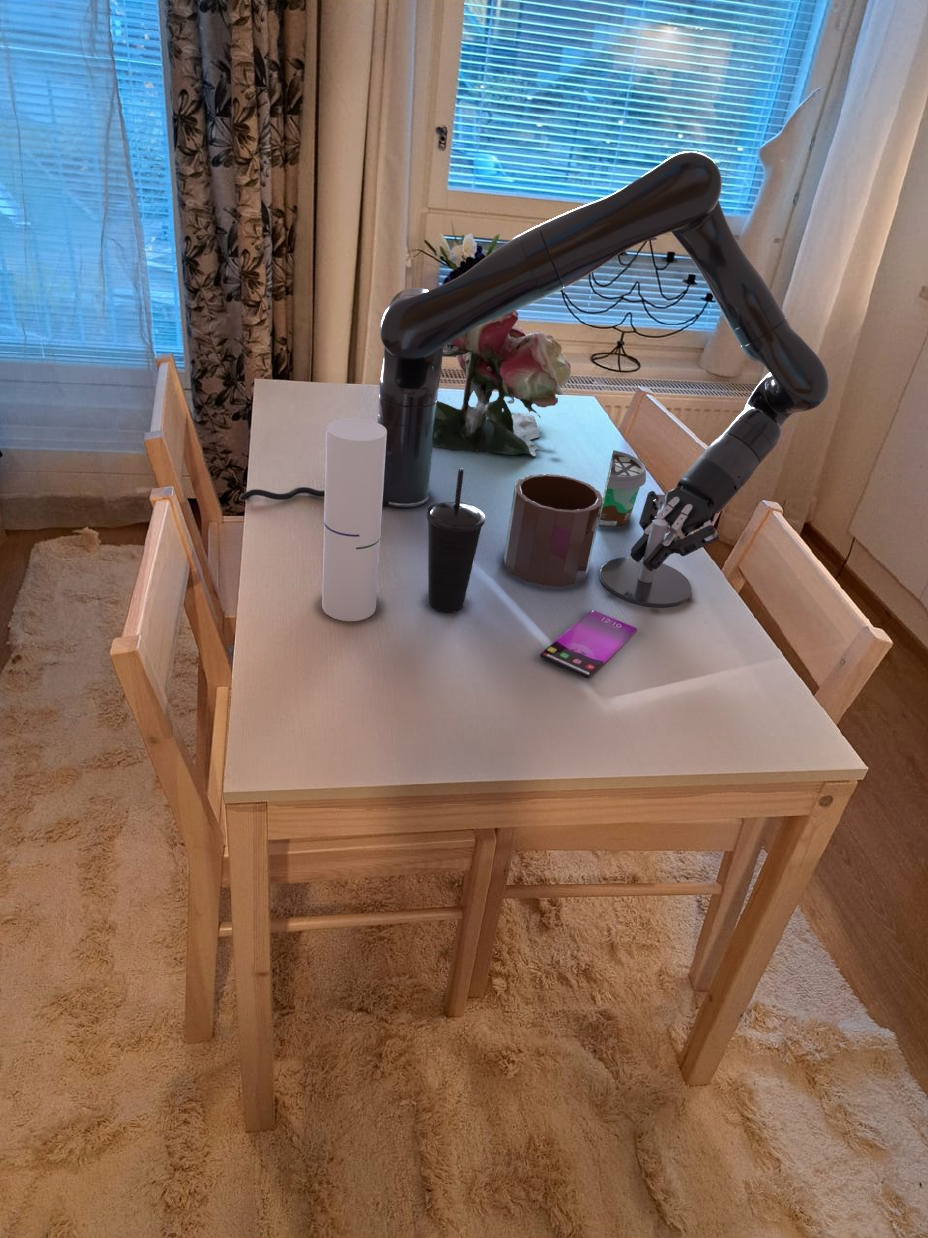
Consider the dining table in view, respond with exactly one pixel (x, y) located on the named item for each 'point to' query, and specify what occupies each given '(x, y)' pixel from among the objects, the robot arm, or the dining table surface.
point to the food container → (621, 489)
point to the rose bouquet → (501, 387)
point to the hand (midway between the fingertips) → (640, 562)
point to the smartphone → (589, 643)
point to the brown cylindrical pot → (552, 529)
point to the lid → (646, 576)
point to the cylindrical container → (352, 517)
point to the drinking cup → (451, 550)
